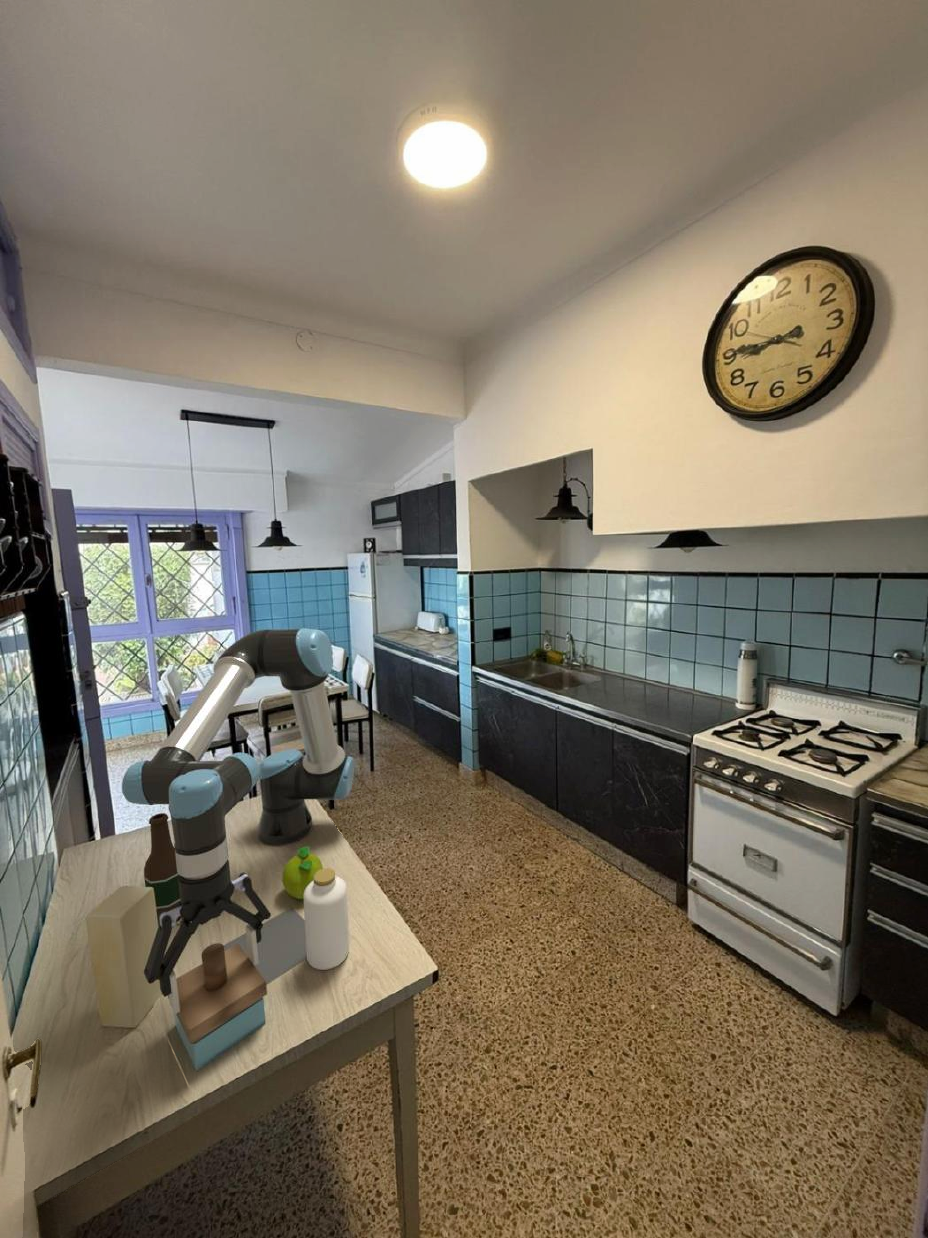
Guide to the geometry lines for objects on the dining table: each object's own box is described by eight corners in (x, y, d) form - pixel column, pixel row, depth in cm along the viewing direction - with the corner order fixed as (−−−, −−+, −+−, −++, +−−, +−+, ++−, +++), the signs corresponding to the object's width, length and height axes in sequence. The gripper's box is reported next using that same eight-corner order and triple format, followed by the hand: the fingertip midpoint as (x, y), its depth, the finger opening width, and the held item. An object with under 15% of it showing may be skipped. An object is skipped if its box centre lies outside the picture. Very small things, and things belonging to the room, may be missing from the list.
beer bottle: (171, 930, 108) (159, 827, 105) (141, 925, 110) (128, 824, 106) (197, 905, 116) (186, 808, 112) (168, 901, 117) (157, 806, 114)
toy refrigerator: (131, 986, 94) (117, 885, 91) (167, 989, 93) (154, 886, 90) (96, 1026, 86) (80, 916, 83) (135, 1029, 85) (120, 918, 83)
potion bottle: (357, 955, 100) (354, 875, 97) (320, 981, 94) (316, 896, 91) (335, 932, 106) (332, 855, 103) (299, 955, 100) (294, 875, 97)
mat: (292, 908, 114) (292, 907, 114) (328, 946, 103) (328, 944, 102) (218, 949, 102) (218, 948, 102) (250, 996, 91) (250, 994, 91)
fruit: (323, 877, 124) (321, 840, 123) (325, 902, 115) (322, 862, 114) (284, 886, 121) (281, 848, 120) (283, 912, 113) (280, 871, 111)
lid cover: (239, 955, 93) (235, 914, 92) (267, 994, 85) (263, 949, 84) (168, 997, 85) (162, 952, 84) (190, 1044, 77) (185, 996, 75)
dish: (240, 986, 93) (238, 963, 93) (265, 1024, 86) (263, 998, 85) (175, 1027, 86) (172, 1001, 85) (197, 1073, 78) (193, 1045, 77)
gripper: (265, 827, 93) (275, 931, 96) (110, 892, 76) (127, 1017, 79) (284, 843, 87) (293, 953, 90) (121, 917, 70) (139, 1049, 73)
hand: (216, 983), depth 85 cm, fingers closed on lid cover, 12 cm apart
